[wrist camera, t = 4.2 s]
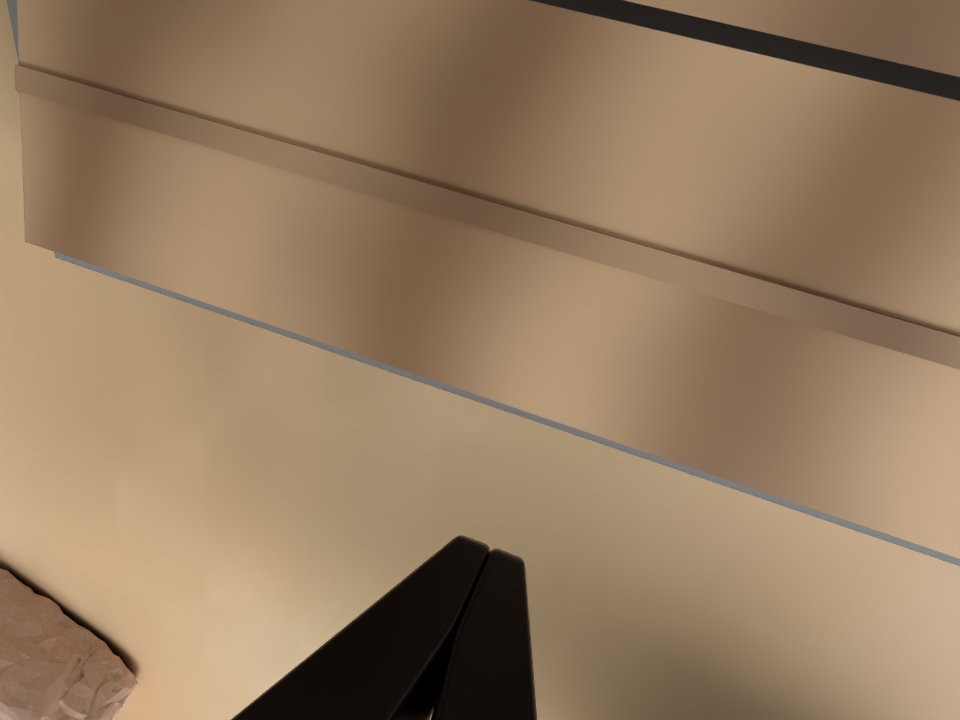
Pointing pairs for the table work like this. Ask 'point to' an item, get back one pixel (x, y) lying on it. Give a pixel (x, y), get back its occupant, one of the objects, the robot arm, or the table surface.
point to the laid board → (847, 25)
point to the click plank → (536, 221)
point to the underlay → (613, 6)
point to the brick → (54, 662)
